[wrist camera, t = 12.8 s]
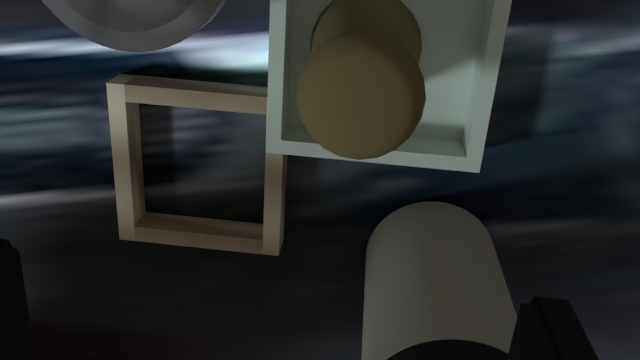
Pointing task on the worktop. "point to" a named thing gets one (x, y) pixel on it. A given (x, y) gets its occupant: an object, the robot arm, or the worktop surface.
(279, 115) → the tray
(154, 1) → the grey pedestal stand
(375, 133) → the brown rounded lump
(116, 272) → the worktop surface
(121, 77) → the socket
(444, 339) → the travel mug
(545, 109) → the worktop surface
